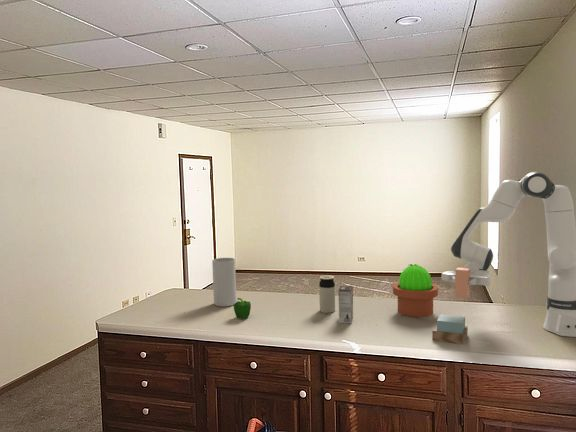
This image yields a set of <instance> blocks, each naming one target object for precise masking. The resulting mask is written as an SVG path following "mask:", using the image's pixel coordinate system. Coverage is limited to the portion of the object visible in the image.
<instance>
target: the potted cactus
mask: <svg viewBox="0 0 576 432" xmlns="http://www.w3.org/2000/svg"><path fill="white" fill-rule="evenodd" d="M404 268H405V267H404ZM392 293H393V295H394V296H396V297H397V312H398V314H399V315H402V316H405V317H410V318H427V317H430V316H432V315H433V314H434V298H437V297H438V295H439V286H438V285H437V284H435V283H433V282H432V277H431V274H430V273H429V271H428V270H427V269H426V268H425V267H424V266H421V265H419V264H412V263H410V264H409V265H408V266H407V267H406V268H405V269H402V271H401V273H400V275H399V278H398V282H395V283H394V284H393V285H392Z"/></svg>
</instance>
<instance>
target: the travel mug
mask: <svg viewBox="0 0 576 432" xmlns="http://www.w3.org/2000/svg"><path fill="white" fill-rule="evenodd" d="M334 278H335V276H333V275H321V276H319V279H320V280H319V283H318V285H319V289H318V291H319V293H318V294H319V311H320V312H321V313H325V314H331V313H334V312H336V283H335V281H334V280H335V279H334Z"/></svg>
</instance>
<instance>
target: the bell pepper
mask: <svg viewBox="0 0 576 432" xmlns="http://www.w3.org/2000/svg"><path fill="white" fill-rule="evenodd" d="M238 300H239V301H238ZM251 304H252V303H251V302H250V301H247V300H243V298H241V297H236V303H235V304H234V305H233V311H234V314H235V317H236V318H237V319H241V320H245V319H248V318H249V316H250V313H251V308H252V307H251V306H252V305H251Z"/></svg>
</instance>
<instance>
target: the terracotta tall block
mask: <svg viewBox="0 0 576 432" xmlns="http://www.w3.org/2000/svg"><path fill="white" fill-rule="evenodd" d="M455 271H456V276H455V283H454V285H455V286H454V287H455V288H454V290H455V291H454V297H455V298H461V299H468V298H469V297H470V295H471V294H470V293H471V292H470V289H471V287H470V284H468V283H469V282H468V280H470V268H462V267H459V266H458V267H457V268H456V269H455Z"/></svg>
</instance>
